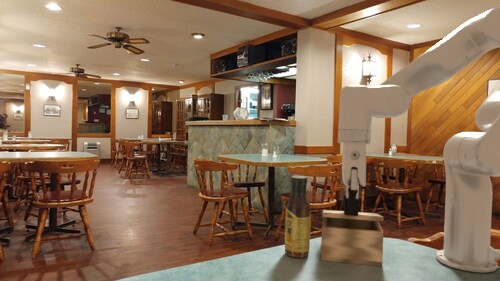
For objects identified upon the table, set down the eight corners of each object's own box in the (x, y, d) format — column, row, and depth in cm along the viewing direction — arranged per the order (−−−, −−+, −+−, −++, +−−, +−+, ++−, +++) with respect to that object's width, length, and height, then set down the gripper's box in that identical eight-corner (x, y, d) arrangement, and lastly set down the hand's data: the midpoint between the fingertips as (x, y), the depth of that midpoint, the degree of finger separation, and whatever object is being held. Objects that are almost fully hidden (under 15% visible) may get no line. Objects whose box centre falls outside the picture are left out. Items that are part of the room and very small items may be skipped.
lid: (376, 217, 96) (376, 212, 96) (383, 221, 82) (383, 216, 82) (323, 213, 99) (323, 209, 99) (322, 216, 85) (322, 211, 86)
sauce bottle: (283, 249, 92) (285, 174, 92) (307, 250, 92) (309, 174, 91) (285, 259, 86) (287, 177, 85) (311, 260, 86) (313, 178, 85)
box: (375, 246, 96) (376, 217, 96) (382, 266, 82) (383, 232, 82) (322, 242, 99) (323, 213, 99) (320, 260, 86) (321, 227, 85)
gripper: (375, 139, 76) (370, 223, 77) (366, 137, 92) (362, 207, 93) (339, 137, 78) (335, 220, 78) (336, 136, 94) (333, 204, 94)
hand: (350, 212), depth 86 cm, fingers open, 3 cm apart
